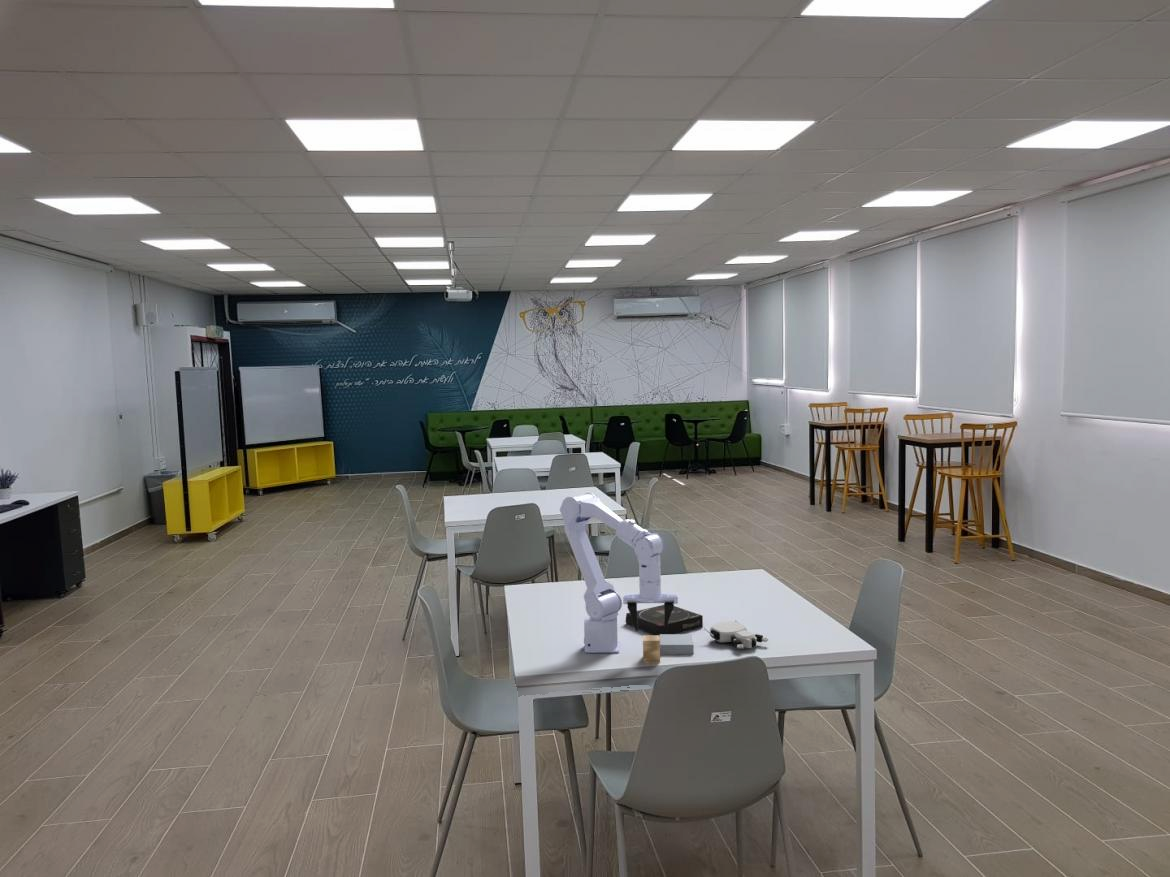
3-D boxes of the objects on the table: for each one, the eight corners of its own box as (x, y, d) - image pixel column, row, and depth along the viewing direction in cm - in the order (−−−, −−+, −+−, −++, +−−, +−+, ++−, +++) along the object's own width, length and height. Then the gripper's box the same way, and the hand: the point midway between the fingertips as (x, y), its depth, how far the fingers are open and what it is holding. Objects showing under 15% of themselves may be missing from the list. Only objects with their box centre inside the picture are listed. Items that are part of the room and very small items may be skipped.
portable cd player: (666, 615, 259) (666, 603, 258) (702, 628, 244) (702, 615, 244) (625, 625, 250) (625, 612, 249) (660, 639, 235) (660, 626, 235)
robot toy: (770, 649, 226) (733, 632, 238) (771, 634, 225) (734, 617, 238) (738, 658, 219) (701, 640, 232) (739, 642, 219) (702, 625, 231)
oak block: (643, 662, 215) (642, 640, 215) (643, 656, 220) (642, 635, 219) (660, 662, 215) (659, 640, 215) (659, 656, 219) (659, 635, 219)
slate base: (660, 655, 222) (660, 644, 221) (659, 644, 231) (659, 634, 230) (693, 655, 221) (693, 644, 221) (691, 644, 230) (691, 634, 230)
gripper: (622, 583, 212) (623, 634, 213) (677, 583, 211) (678, 634, 212) (623, 577, 219) (624, 626, 220) (676, 576, 218) (677, 626, 219)
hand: (651, 629), depth 217 cm, fingers open, 7 cm apart
